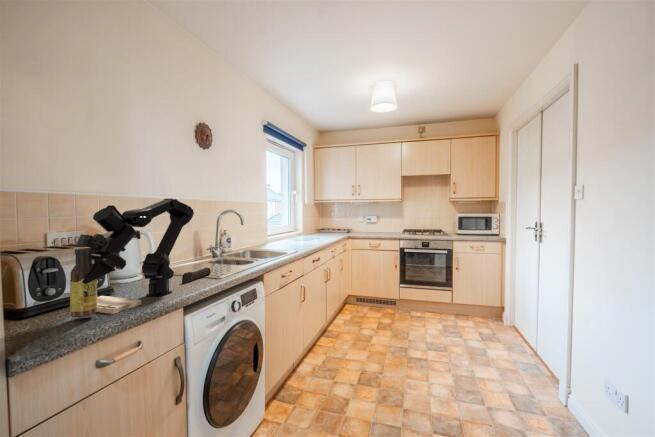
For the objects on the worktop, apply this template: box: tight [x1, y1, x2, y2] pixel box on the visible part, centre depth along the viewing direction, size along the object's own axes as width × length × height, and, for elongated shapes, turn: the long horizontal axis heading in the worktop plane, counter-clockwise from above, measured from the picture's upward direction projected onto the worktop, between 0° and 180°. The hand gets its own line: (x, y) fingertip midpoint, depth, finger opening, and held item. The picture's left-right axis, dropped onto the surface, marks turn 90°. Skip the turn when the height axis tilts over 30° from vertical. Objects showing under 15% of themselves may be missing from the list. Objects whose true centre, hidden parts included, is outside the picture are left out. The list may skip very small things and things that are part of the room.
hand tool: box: [181, 266, 211, 284], centre depth 139 cm, size 19×4×5 cm, turn 167°
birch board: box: [95, 295, 142, 315], centre depth 99 cm, size 10×18×2 cm, turn 74°
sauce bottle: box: [69, 247, 98, 318], centre depth 88 cm, size 6×6×20 cm
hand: (77, 282), depth 87 cm, fingers closed on sauce bottle, 6 cm apart
